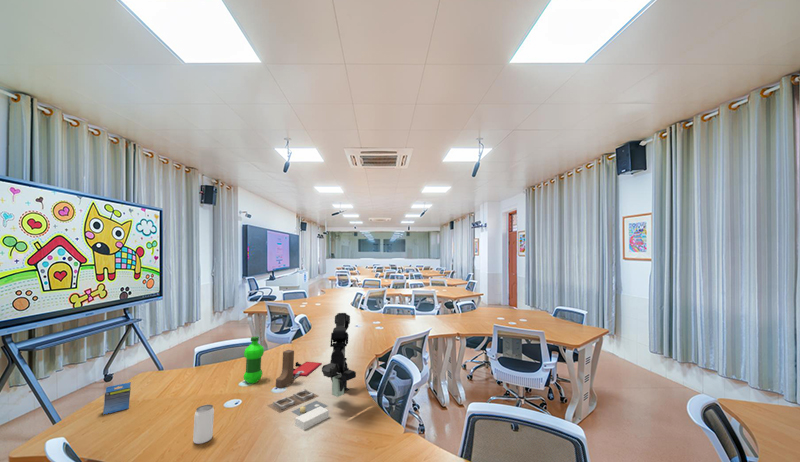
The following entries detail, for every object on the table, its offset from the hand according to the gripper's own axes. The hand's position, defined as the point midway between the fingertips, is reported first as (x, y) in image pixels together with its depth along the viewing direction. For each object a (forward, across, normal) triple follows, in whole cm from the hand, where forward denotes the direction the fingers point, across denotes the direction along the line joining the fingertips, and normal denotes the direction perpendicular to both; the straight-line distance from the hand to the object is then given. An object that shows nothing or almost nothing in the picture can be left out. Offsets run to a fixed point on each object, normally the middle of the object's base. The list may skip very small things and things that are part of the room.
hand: (338, 389), depth 148 cm
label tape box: (+9, -79, -66) cm, 103 cm away
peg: (+2, 0, 0) cm, 2 cm away
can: (+9, -22, -50) cm, 55 cm away
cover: (+8, +2, -16) cm, 18 cm away
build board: (+8, -21, -10) cm, 25 cm away
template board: (+8, -8, -10) cm, 15 cm away
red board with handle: (+9, -55, +17) cm, 58 cm away
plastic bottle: (+9, -62, -10) cm, 63 cm away
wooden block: (+9, -44, -1) cm, 45 cm away
